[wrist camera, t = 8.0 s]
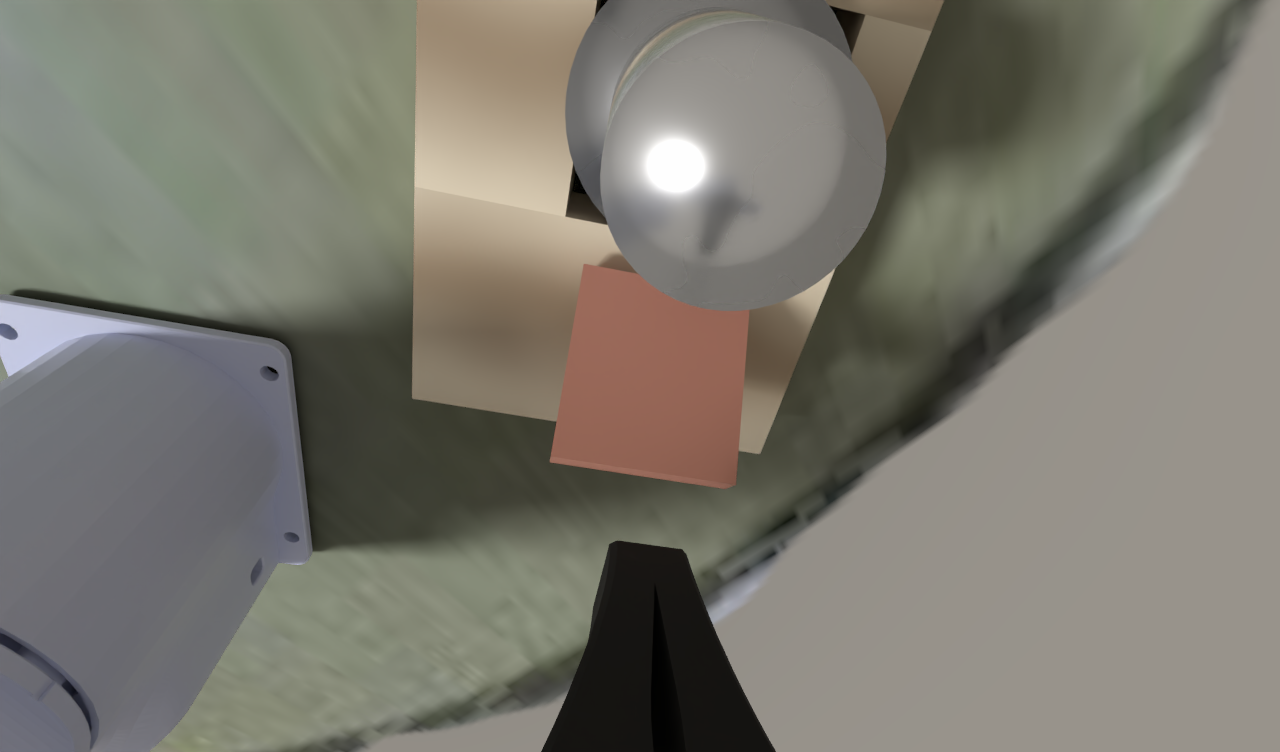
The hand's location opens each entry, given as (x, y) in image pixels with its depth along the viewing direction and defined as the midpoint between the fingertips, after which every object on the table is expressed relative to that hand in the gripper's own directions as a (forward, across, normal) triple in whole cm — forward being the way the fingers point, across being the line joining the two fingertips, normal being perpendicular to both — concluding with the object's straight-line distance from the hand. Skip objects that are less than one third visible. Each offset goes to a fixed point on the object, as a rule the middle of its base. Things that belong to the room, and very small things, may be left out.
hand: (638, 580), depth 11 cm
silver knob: (+8, 0, -7) cm, 11 cm away
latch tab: (+5, 0, -2) cm, 5 cm away
